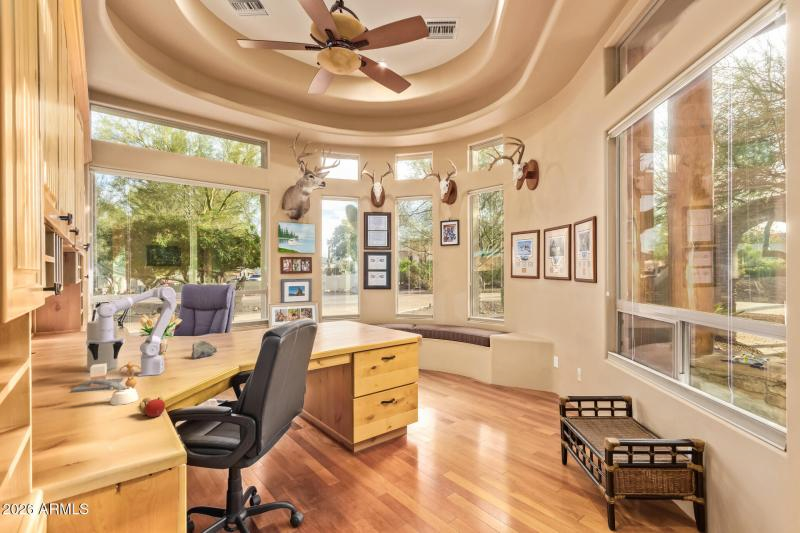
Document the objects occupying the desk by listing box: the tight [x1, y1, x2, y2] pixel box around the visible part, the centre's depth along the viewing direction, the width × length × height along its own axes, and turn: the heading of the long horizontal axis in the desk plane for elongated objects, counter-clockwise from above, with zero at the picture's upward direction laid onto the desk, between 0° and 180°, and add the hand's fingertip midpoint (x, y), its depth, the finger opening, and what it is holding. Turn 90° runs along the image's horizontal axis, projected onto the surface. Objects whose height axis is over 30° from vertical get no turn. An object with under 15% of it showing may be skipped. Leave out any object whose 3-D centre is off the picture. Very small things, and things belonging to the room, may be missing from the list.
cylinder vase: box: [86, 319, 119, 373], centre depth 196 cm, size 12×12×25 cm
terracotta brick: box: [89, 373, 107, 386], centre depth 167 cm, size 5×6×4 cm
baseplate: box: [70, 377, 124, 393], centre depth 166 cm, size 14×14×1 cm
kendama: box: [139, 396, 166, 418], centre depth 136 cm, size 8×6×18 cm
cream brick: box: [89, 363, 108, 377], centre depth 167 cm, size 5×6×4 cm
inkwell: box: [81, 378, 140, 406], centre depth 145 cm, size 9×18×10 cm, turn 120°
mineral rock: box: [191, 340, 218, 360], centre depth 222 cm, size 13×11×10 cm
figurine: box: [118, 360, 142, 388], centre depth 163 cm, size 8×6×12 cm
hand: (105, 359), depth 173 cm, fingers open, 7 cm apart
